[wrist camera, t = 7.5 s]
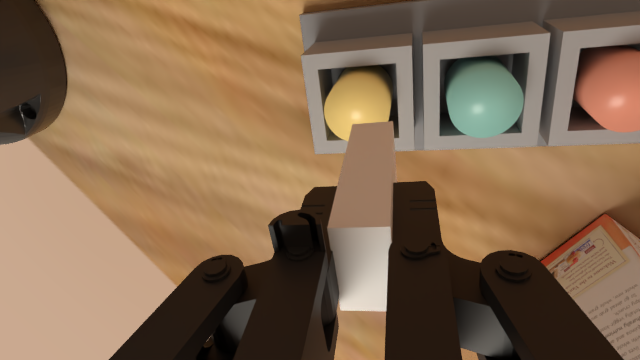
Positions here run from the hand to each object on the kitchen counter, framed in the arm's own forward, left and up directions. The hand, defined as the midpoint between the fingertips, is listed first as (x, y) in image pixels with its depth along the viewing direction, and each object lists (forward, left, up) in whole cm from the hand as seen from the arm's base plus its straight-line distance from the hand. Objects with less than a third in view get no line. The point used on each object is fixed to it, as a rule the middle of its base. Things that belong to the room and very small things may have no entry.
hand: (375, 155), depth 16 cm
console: (+5, -1, -15) cm, 16 cm away
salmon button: (+12, -1, -13) cm, 18 cm away
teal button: (+5, -1, -13) cm, 14 cm away
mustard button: (-2, -1, -13) cm, 13 cm away
